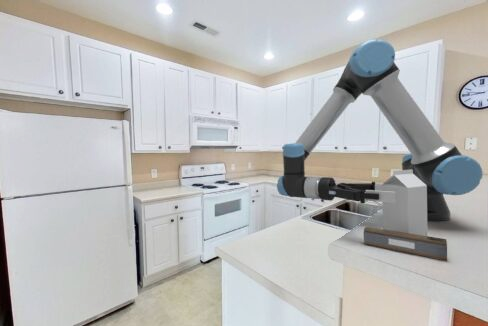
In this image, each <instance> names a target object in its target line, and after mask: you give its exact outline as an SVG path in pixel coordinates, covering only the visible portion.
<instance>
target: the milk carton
mask: <svg viewBox="0 0 488 326" xmlns="http://www.w3.org/2000/svg"><path fill="white" fill-rule="evenodd" d="M382 191H390V192H395V201H396V203H389V202H381V203H382V204H381V205H382V229H385V230H391V231H398V232H404V233H410V234H417V235H423V236H428V220H427V185H426V184H425V183H423V182H422V181H421V180H420V179H419V178H418V177H416V176H415V175H414V174H413V170H402V169H400V170H393V174H392V175H391V176H390V178H388V179H387V180H385V182H383V183H382Z"/></svg>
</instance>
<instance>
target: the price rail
mask: <svg viewBox="0 0 488 326" xmlns="http://www.w3.org/2000/svg"><path fill="white" fill-rule="evenodd" d="M363 243H365V244H364V245H367V244H369V245H368V246H372V245H373V246H372V247H377V248H378V247H379V248H383V249H386V250H387V249H388V250H392V251H398V252H400V253H407V254H412V255H417V256H422V257H425V258H427V257H428V258H432V259H437V260H442V261H444V262H445V261H446V262H447V261H448V241H447V239H446V238H441V237H434V236H430V235H427V236H423V235H417V234H410V233H404V232H398V231H391V230H385V229H383V228H378V227H372V226H365V227H364V228H363Z"/></svg>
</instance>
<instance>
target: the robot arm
mask: <svg viewBox="0 0 488 326" xmlns="http://www.w3.org/2000/svg"><path fill="white" fill-rule="evenodd" d="M395 59H396V51H395V49H394V47H393V45H392V44H391V43H390V42H388V41H387V40H384V39H381V38H380V39H379V38H378V39H375V38H373V39H369V40H366V41H364V42H362V43H360V44H359V45H358V46H357V47H356V48H355V49H354V50H353V52H352V53H351V55H350V57H349V60H348V61H347V64H346V66H345V67H344V69H343V71H342V74H341V76H340V78H339V79H338V81H337V83H336V84H335V86H334V87H333V88H332V94H331V95H330V96H329V98H328V99H327V101H326V102H325V103H324V104H323V106H322V107H321V109H320V110H319V111H318V112H317V114H316V115H315V116H314V117H313V119H312V120H311V122H310V123H309V124H308V125H307V127H306V128H305V130H304V131H303V132H302V133H301V135H300V136H299V137H298V139H297V140H296V141H295V142H294V143H284V145H283V146H282V158H283V159H282V160H283V161H282V162H283V175H281V176H279V178H278V179H277V184H276V190H277V192H278V193H279V195H281V196H283V197H284V196H285V197H289V198H304V199H311V201H314V200H323V201H330V202H331V201H333V200H335V198H339V199H343V200H349V201H352V202H353V201H354V202H360V204H365V203H366V201H367V202H368V201H369V202H378V203H379V202H380V203H382V202H389V203H396V201H395V192H390V191H382V184H383V183H382V184H380V183H379V184H378V183H376V182H375V181H371V183H367V182H366V183H364V182H363V183H362V182H361V183H359V182H358V183H356V182H355V183H351V182H349V183H348V182H347V183H346V182H340V183H337V184H336V180H335V178H333V177H332V176H331V177H330V176H329V177H326V176H325V177H324V176H323V177H320V176H306V175H305V168H306V167H305V161H306V160H307V159H308V157H309V156H310V154H311V153H312V152H313V150H315V148H316V146H318V145H319V143H320V142H321V140H322V139H323V138H324V137H325V135H326V134H327V133H328V132H329V130H330V129H331V127H333V126H334V124H335V123H336V121H337V120H338V119H339V118H340V116H341V115H342V114H343V113H344V111H345V110H346V109H347V108H348V106H349V105H350V104H351V103H354V102H356V100H357V99H358V97H360V96H361V94H362V95H363V96H369V97H370V98H371V99H372V100H373V101H374V103H375V105H376V106H377V108H378V109H379V110H380V112H382V113H381V114H382V115H383V116H384V117H385V118H386V120H387V121H388V123H389V124H390V126H392V129H393V130H394V132H395V133H396V134H397V135H398V137H399V139H400V140H401V141H402V143H403V144H404V145H405V147H406V148H407V149H408V151H409V152H410V153H408V154H407V153H406V154H404V156H403V157H402V162H401V170H413V174H414V175H415V176H416V177H418V178H419V179H420V180H421V181H422V182H423V183H425V184H426V185H427V221H435V222H436V221H438V222H439V221H448V220H449V221H450V219H451V210H450V208H449V206H448V204H447V201H446V199H445V196H444V195H447V196H448V195H449V196H463V195H465V194H469V193H471V192H472V191H473V190H475V189H476V188H477V187H478V186H479V185H480V182H481V180H482V179H483V168H482V167H481V164H480V163H479V162H478V161H477V160H476V159H474V158H472V157H470V156H468V155H465V154H464V155H463V154H462V153H461V152H460V150H459V149H458V147H457V146H456V145H455V144H454V143H451V142H446V141H444V139H443V138H442V137H441V135H440V134H439V133H438V131H437V130H436V129H435V127H434V126H433V125H432V123H431V121H429V119H428V117H427V116H426V114H424V112H423V111H422V109H421V108H420V106H419V105H418V104H417V102H416V101H415V100H414V98H413V97H412V96H411V94H410V93H409V91H408V90H407V89H406V88H405V86H404V85H403V83H402V82H401V81H400V79H399V74H400V69H399V67H398V66H397V64H396V62H395Z"/></svg>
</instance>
